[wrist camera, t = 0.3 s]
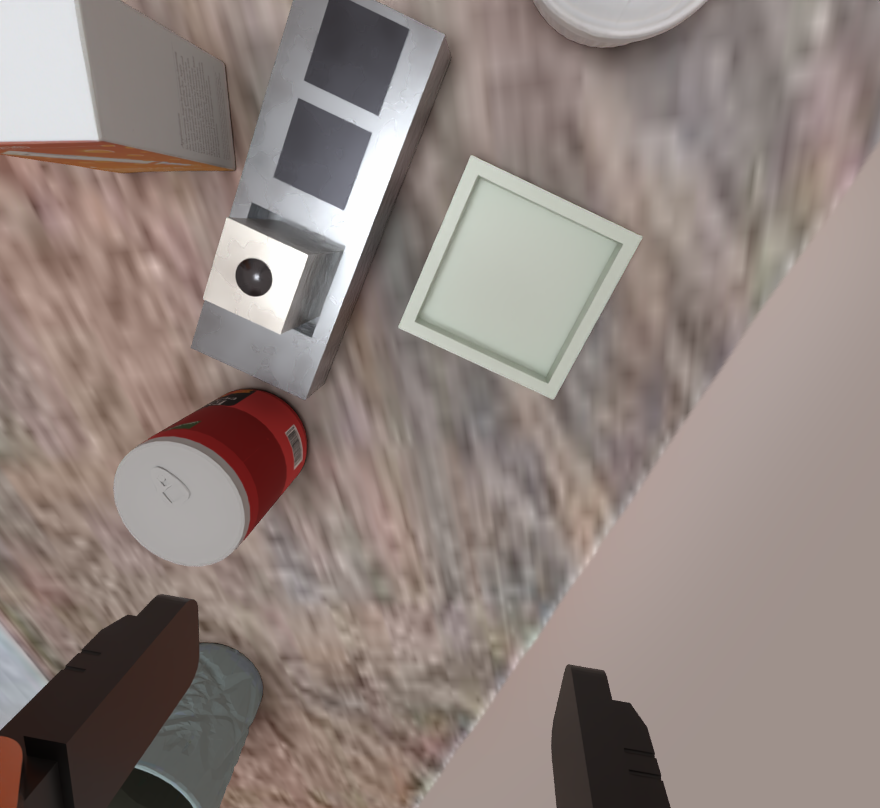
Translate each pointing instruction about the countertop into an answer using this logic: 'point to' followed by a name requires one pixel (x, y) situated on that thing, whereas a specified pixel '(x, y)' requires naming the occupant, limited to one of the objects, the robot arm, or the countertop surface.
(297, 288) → the cube with dark knob
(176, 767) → the grey-green cup
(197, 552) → the canned food
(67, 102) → the small box
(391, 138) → the grey compartment tray
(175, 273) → the countertop surface
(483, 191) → the parts tray
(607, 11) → the ramekin
